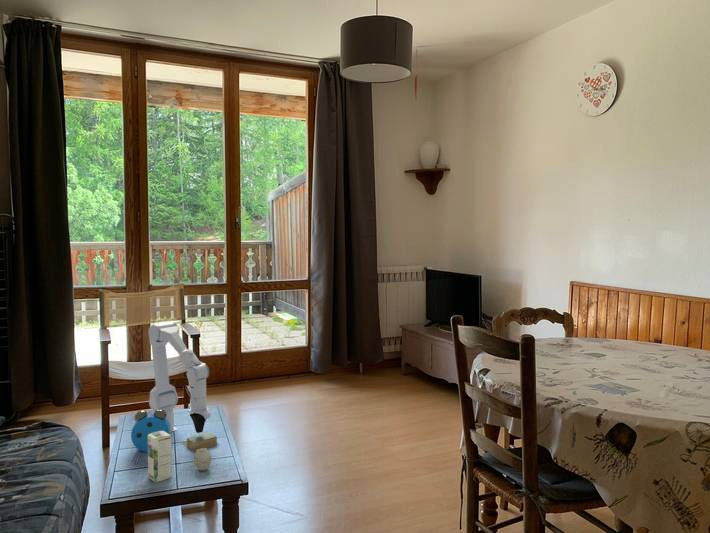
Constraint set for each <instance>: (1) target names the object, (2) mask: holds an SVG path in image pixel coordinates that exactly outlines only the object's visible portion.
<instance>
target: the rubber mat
mask: <svg viewBox="0 0 710 533" xmlns="http://www.w3.org/2000/svg"><path fill="white" fill-rule="evenodd" d="M180 444H181V445H183V446H184V447H185V448H187V449H188V450H190V451H191V452H192V453H196V451H197V450H195V451H194V450H192V449H191V448H189V447H188V446H187V440H185V441H180ZM219 445H220V443H218V442H217V444H216V445H213V446H209V447H206V448H207V449H210V448H211V447H216V446H219Z"/></svg>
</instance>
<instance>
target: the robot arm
mask: <svg viewBox="0 0 710 533" xmlns="http://www.w3.org/2000/svg"><path fill="white" fill-rule="evenodd" d="M147 331H148V338H149V339H148V340H149V345H151V351H152V352H151V354H152V362H153V372H154V381H155V382H154V383H155V385H154V387H153V388H152V389H151V390H150V391H149V399H148V404H149V405H148V406H149V407H150V409H151V411H152V412H155V411H156V410H157V409H163V410H165V411H166V413H167V419H168V420H169V422H170V426H171V432H170V433H172V432H176V431H178V430H179V429H178V428H176V427H175V422H174V421H175V419H174V418H175V417H174V415H175V414H174V408H176V405H177V404H178V400H179V397H178V394H177V391H176V387H175V386H173V385H172V384H170V377H169V376H170V375H169V367H168V358H167V344H168V343H169V345H170V346H172V348H173V349H174V350H175V351H176V352H177V353H178V355H179V356H178V361H179V362H180V363H181V365H182V367H184V369H185V371H186V377H187V380H188V385H189V387H190V392H189V393H190V403H188V406H187V407H188V408H187V409H188V410H187V412H188V413H189V417H190V418H191V420H192V422H193V425H194V430H195V432H196V434H199V433H200V434H201V433H203V432H204V428H205V423H206V420H207V419H210V418H211V412H210V411H209V408H208V405H207V404H208V402H207V378H209V376H210V369H209V367H208V365H207V364H206V363H205V362H202V361H200V359H199V358H198V357H197V355H196V354H195V352H193V350H192V349H188V348H187V345H186V344H185V342H184V341H183V339H182V337H181V336H180V327H179V325H178V324H177V322H176V321H173V320H172V321H168V322H162V323H156V324H151V325H150V326H149V328H148V330H147Z"/></svg>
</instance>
